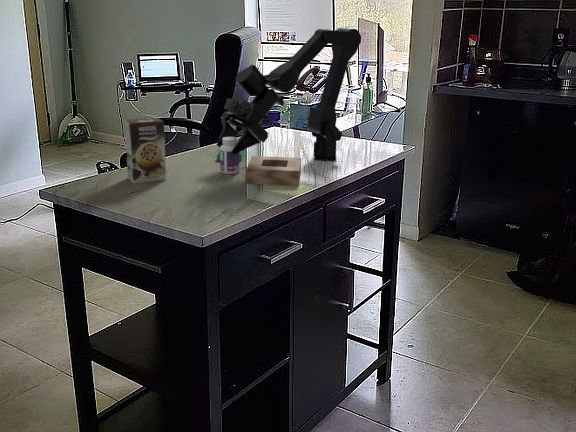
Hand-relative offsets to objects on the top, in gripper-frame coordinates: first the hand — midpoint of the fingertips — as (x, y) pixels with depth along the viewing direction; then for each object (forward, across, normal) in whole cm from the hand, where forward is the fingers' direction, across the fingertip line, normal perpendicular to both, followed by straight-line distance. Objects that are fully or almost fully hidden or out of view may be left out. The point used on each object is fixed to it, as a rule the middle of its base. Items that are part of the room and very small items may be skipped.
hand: (225, 149), depth 178 cm
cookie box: (+20, -4, -10) cm, 23 cm away
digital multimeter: (-2, -17, +12) cm, 21 cm away
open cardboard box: (-2, +11, +12) cm, 16 cm away
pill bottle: (+4, 0, +6) cm, 7 cm away
